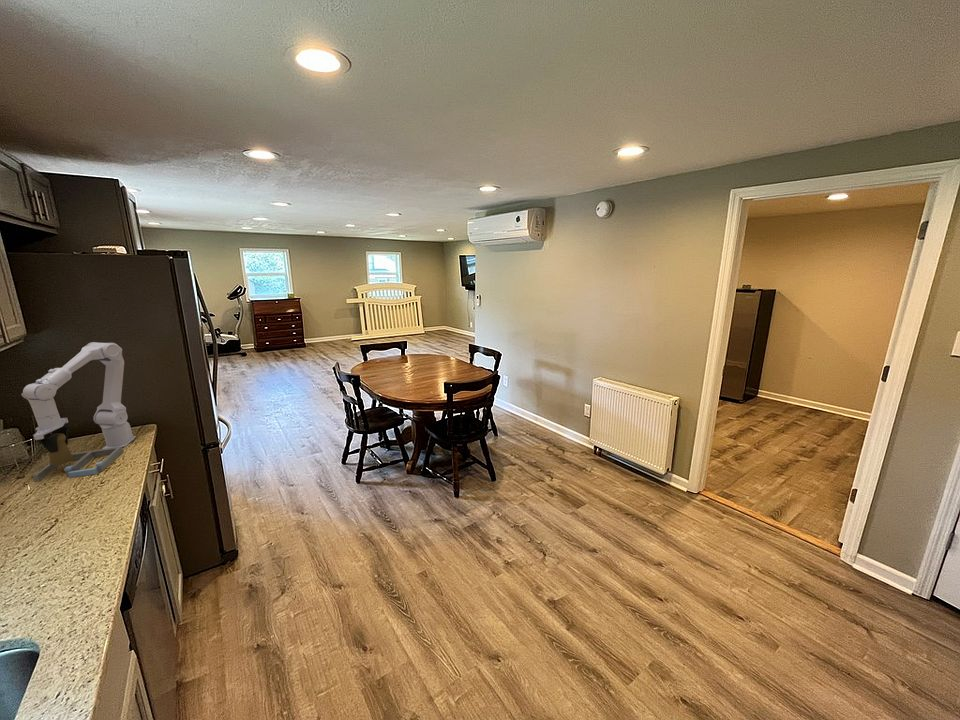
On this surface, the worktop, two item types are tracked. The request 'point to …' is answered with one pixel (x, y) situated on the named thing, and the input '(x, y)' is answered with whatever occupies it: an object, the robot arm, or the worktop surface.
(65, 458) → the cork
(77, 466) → the blue open frame
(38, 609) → the worktop surface
